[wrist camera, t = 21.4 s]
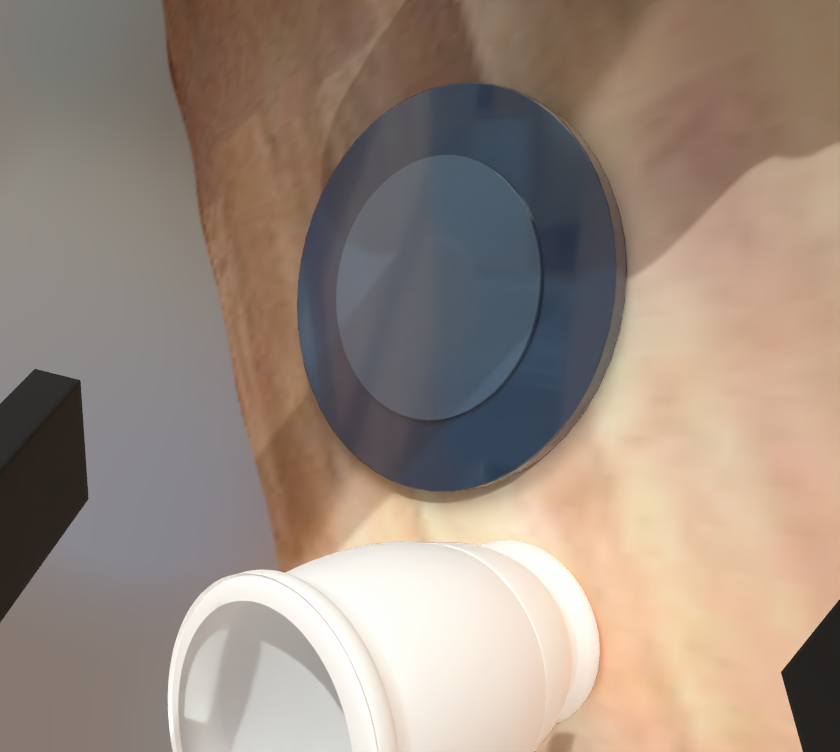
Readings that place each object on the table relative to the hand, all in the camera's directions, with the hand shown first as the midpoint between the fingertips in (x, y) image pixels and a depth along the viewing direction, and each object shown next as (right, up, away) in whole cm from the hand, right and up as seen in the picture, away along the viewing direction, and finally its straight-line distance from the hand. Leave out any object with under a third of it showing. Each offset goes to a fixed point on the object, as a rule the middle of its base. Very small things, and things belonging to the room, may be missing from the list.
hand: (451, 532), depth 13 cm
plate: (+1, +7, +26) cm, 27 cm away
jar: (+4, -9, +23) cm, 25 cm away
